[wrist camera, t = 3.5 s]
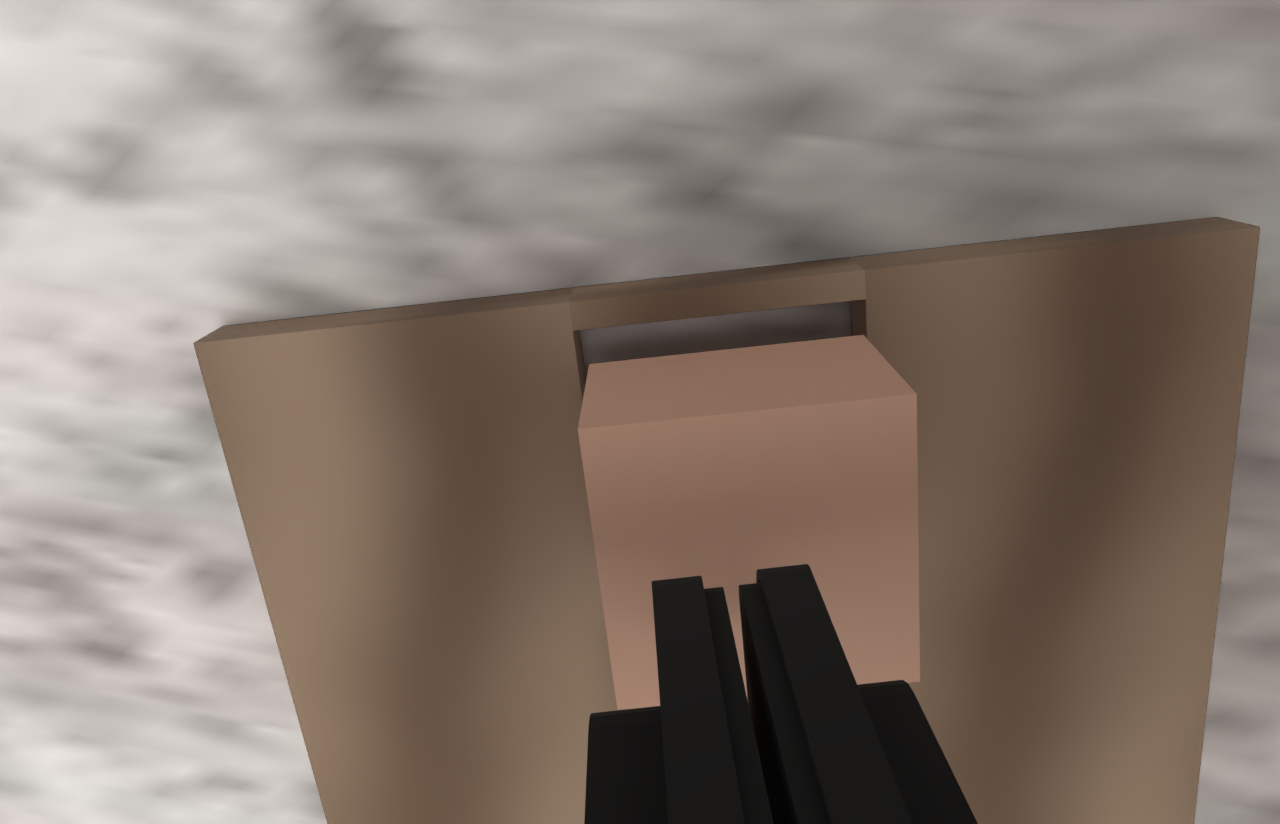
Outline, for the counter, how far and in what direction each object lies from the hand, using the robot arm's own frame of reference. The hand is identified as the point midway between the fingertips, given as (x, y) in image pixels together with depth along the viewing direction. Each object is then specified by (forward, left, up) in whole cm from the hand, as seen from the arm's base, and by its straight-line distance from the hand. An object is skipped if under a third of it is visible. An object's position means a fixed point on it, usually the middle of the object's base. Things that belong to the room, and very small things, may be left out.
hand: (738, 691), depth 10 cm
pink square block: (-1, 0, -6) cm, 6 cm away
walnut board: (-1, +6, -8) cm, 10 cm away
